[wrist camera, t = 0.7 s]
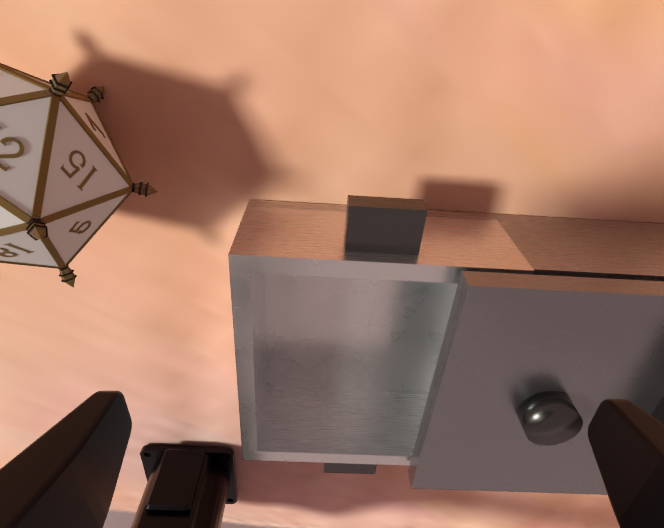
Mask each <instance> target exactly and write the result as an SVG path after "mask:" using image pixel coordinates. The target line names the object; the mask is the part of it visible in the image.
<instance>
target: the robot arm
mask: <svg viewBox="0 0 664 528" xmlns="http://www.w3.org/2000/svg"><path fill="white" fill-rule="evenodd" d="M131 428H132V421H131V417H130V414H129V411H128V408H127V404H126V401H125V398H124V396H123V394H122V393H121V392H120V391H98V392H96V393H94V394H93V395H92V396H90V397H89V398H88V399H87V400H85V401H84V402H83V403H82V404H80V405H79V406H78V407H77V408H75V409H74V410H73V411H72V412H70V413H69V414H68V415H67V416H66V417H64V418H63V419H62V420H61V421H59V422H58V423H57V424H56V425H54V426H53V427H52V428H51V429H49V430H48V431H47V432H46V433H44V434H43V435H42V436H41V437H40V438H38V439H37V440H36V441H35V442H33V443H32V444H31V445H30V446H28V447H27V448H26V449H25V450H23V451H22V452H21V453H20V454H18V455H17V456H16V457H15V458H14V459H12V460H11V461H10V462H9V463H7V464H6V465H5V466H4V467H2V468H1V469H0V528H103V525H104V522H105V520H106V517H107V514H108V511H109V507H110V504H111V501H112V497H113V494H114V490H115V487H116V483H117V480H118V476H119V472H120V469H121V465H122V462H123V458H124V455H125V451H126V448H127V444H128V441H129V437H130V433H131ZM588 439H589V442H590V445H591V448H592V451H593V454H594V456H595V459H596V462H597V465H598V468H599V471H600V474H601V477H602V479H603V482H604V485H605V488H606V491H607V494H608V497H609V499H610V502H611V505H612V508H613V511H614V513H615V516H616V518H617V521H618V523H619V526H620V528H664V425H663V424H662V423H660V422H659V421H658V420H656V419H655V418H653V417H652V416H651V415H649V414H648V413H646V412H645V411H643V410H642V409H641V408H639V407H638V406H636V405H635V404H634V403H632V402H630V401H628V400H625V399H605V400H603V401H602V402H601V403H600V405H599V406H598V408H597V410H596V412H595V414H594V416H593V418H592V420H591V422H590V424H589V426H588ZM140 455H141V459H142V463H143V466H144V470H145V474H146V477H147V481H148V483H147V485H146V488H145V491H144V493H143V496H142V499H141V502H140V504H139V507H138V510H137V512H136V515H135V518H134V521H133V523H132V526H131V528H220V527H221V522H222V517H223V513H224V508H225V504H234V503H236V502H237V496H238V494H237V482H236V471H235V459H234V451H233V450H232V449H229V448H212V447H184V446H156V445H146V446H143V448H142V450H141V452H140Z"/></svg>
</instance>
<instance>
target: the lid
mask: <svg viewBox="0 0 664 528" xmlns="http://www.w3.org/2000/svg"><path fill="white" fill-rule="evenodd" d="M605 399H625V400H628V401H630V402H632V403H634V404H635V405H636V406H638V407H639V408H641V409H642V410H643V411H645V412H646V413H648V414H649V415H651V416H652V417H653V418H655V419H656V420H658V421H659V422H660V423H662V424H663V425H664V281H645V280H626V279H607V278H588V277H569V276H550V275H531V274H513V273H494V272H475V271H461V274H460V278H459V282H458V286H457V289H456V293H455V297H454V301H453V304H452V308H451V312H450V316H449V319H448V323H447V327H446V331H445V334H444V338H443V342H442V346H441V349H440V353H439V357H438V360H437V364H436V368H435V372H434V375H433V379H432V383H431V387H430V390H429V394H428V398H427V402H426V405H425V409H424V413H423V417H422V420H421V424H420V428H419V432H418V435H417V439H416V443H415V446H414V450H413V454H412V458H411V461H410V465H409V469H408V473H409V479H410V485H411V488H416V489H447V490H478V491H510V492H541V493H572V494H603V495H608V494H607V491H606V488H605V485H604V482H603V479H602V477H601V474H600V471H599V468H598V465H597V462H596V459H595V456H594V454H593V451H592V448H591V445H590V442H589V439H588V426H589V424H590V422H591V420H592V418H593V416H594V414H595V412H596V410H597V408H598V406H599V405H600V403H601V402H602V401H603V400H605Z"/></svg>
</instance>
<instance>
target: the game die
mask: <svg viewBox="0 0 664 528" xmlns="http://www.w3.org/2000/svg"><path fill="white" fill-rule="evenodd" d="M52 77H53V79H52V80H50V81H49V82H48V81H45V80H42V79H40V78H37V77H35V76H32V75H30V74H27V73H24V72H22V71H19V70H17V69H14V68H12V67H9V66H7V65H4V64H1V63H0V263H9V264H19V265H29V266H38V267H48V268H58V269H59V270H60V275H59V276H61V278H62V280H61V281H62V282H65V283H67V284H69V285H70V286H72V287H73V288H74V282H75V277H76V275H74V273H73V271H74V270H71V269H70V268H69V267H68V264H69V263H70V262H71V261H72V260H73V259H74V258H75V256H76V255H77V254H78V253H79V252H80V251H81V250H82V248H83V247H84V246H85V245H86V244H87V243H88V242H89V240H90V239H91V238H92V237H93V236H94V235H95V234H96V232H97V231H98V230H99V229H100V228H101V227H102V226H103V224H104V223H105V222H106V221H107V220H108V219H109V218H110V216H111V215H112V214H113V213H114V212H115V211H116V210H117V208H118V207H119V206H120V205H121V204H122V203H123V202H124V200H125V199H126V198H127V197H128V196H129V195H130V194H131V192H136V193H138V194H139V195H141V194H142V195H145V197H147V196H148V195H150V194H153V193H156V192H157V191H156V190H155V189H154V188H152V187H151V186H150V185H149V183H147V184H144V183H142V182H140V183H137V184H135V183H133V182H132V180H131V178H130V176H129V174H128V172H127V170H126V168H125V166H124V164H123V162H122V160H121V158H120V156H119V154H118V152H117V150H116V148H115V146H114V144H113V142H112V140H111V138H110V136H109V134H108V132H107V130H106V128H105V126H104V124H103V122H102V120H101V118H100V116H99V114H98V112H97V110H96V108H95V106H94V104H93V103H95V102H100V101H99V100H100V99H104V97H103V91H104V87H93V88H91V91H89V92H87V93H88V95H87V97H86V96H84V95H81V94H78V93H76V92H73V91H71V90H68V89H69V88H70V86H71V84H72V82H71V81H70V79H69V76H68V73H67V72H65V73H61V74H52Z"/></svg>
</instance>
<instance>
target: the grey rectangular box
mask: <svg viewBox="0 0 664 528" xmlns="http://www.w3.org/2000/svg"><path fill="white" fill-rule="evenodd" d="M228 256H229V271H230V285H231V299H232V313H233V328H234V342H235V356H236V370H237V385H238V399H239V413H240V427H241V442H242V456H243V460H261V461H290V462H319V463H324V472H328V473H358V474H375V470H376V465H377V464H378V465H407V466H409V465H410V461H411V458H412V454H413V450H414V446H415V443H416V439H417V435H418V432H419V428H420V424H421V420H422V417H423V413H424V409H425V405H426V402H427V398H428V394H429V390H430V387H431V383H432V379H433V375H434V372H435V368H436V364H437V360H438V357H439V353H440V349H441V346H442V342H443V338H444V334H445V331H446V327H447V323H448V319H449V316H450V312H451V308H452V304H453V301H454V297H455V293H456V289H457V286H458V282H459V278H460V274H461V271H475V272H494V273H513V274H531V275H550V276H569V277H588V278H607V279H626V280H645V281H664V224H662V223H645V222H628V221H611V220H593V219H576V218H559V217H542V216H525V215H508V214H490V213H473V212H456V211H439V210H427V208H426V206H425V204H424V201H423V200H419V199H402V198H386V197H369V196H352V195H348V200H347V205H336V204H319V203H302V202H285V201H268V200H250V199H249V202H248V204H247V207H246V209H245V212H244V215H243V217H242V220H241V223H240V225H239V228H238V230H237V233H236V236H235V238H234V241H233V244H232V246H231V249H230V251H229V254H228Z"/></svg>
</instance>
